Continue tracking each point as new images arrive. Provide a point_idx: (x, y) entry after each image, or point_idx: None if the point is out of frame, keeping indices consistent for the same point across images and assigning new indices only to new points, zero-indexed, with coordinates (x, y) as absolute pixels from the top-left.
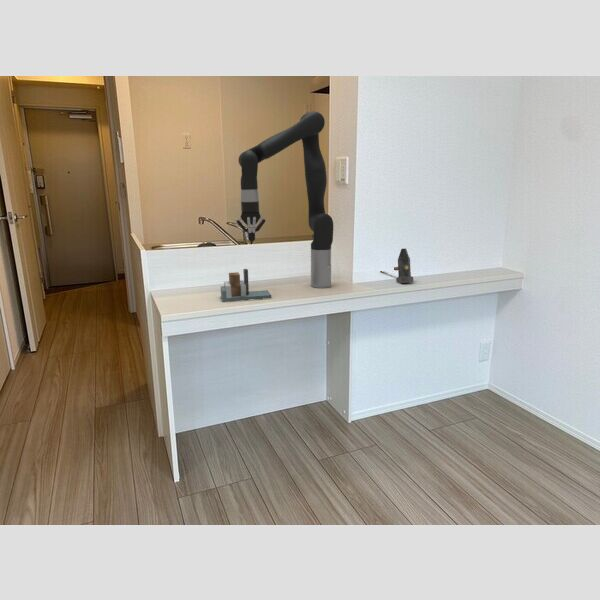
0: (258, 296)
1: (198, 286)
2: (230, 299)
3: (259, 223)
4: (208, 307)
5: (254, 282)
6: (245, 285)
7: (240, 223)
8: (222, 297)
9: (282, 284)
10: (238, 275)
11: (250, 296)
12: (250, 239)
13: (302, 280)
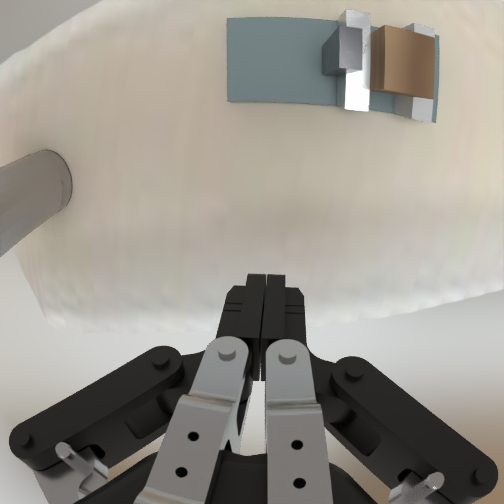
0: (283, 17)
1: (437, 291)
2: None
3: (116, 452)
4: (464, 6)
5: None
6: (347, 9)
7: (446, 460)
8: None
9: (156, 234)
10: (390, 27)
11: (318, 19)
12: (284, 285)
13: (96, 267)
